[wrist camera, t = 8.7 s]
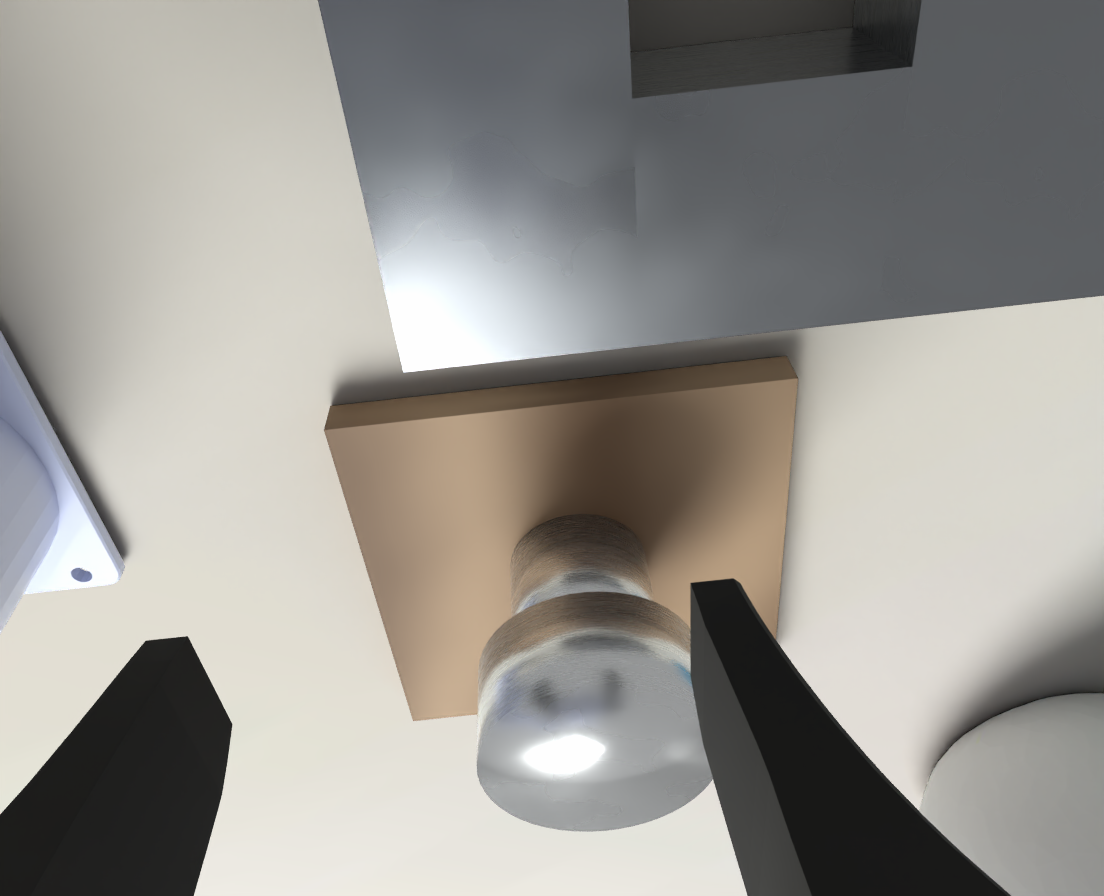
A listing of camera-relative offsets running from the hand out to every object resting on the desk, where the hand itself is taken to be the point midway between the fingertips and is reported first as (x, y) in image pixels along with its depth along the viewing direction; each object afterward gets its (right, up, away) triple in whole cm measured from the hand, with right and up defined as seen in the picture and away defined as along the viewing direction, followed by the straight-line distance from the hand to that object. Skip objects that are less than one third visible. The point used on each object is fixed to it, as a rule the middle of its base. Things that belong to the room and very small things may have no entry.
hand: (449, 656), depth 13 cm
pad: (+2, 0, +12) cm, 12 cm away
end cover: (+2, 0, +11) cm, 11 cm away
